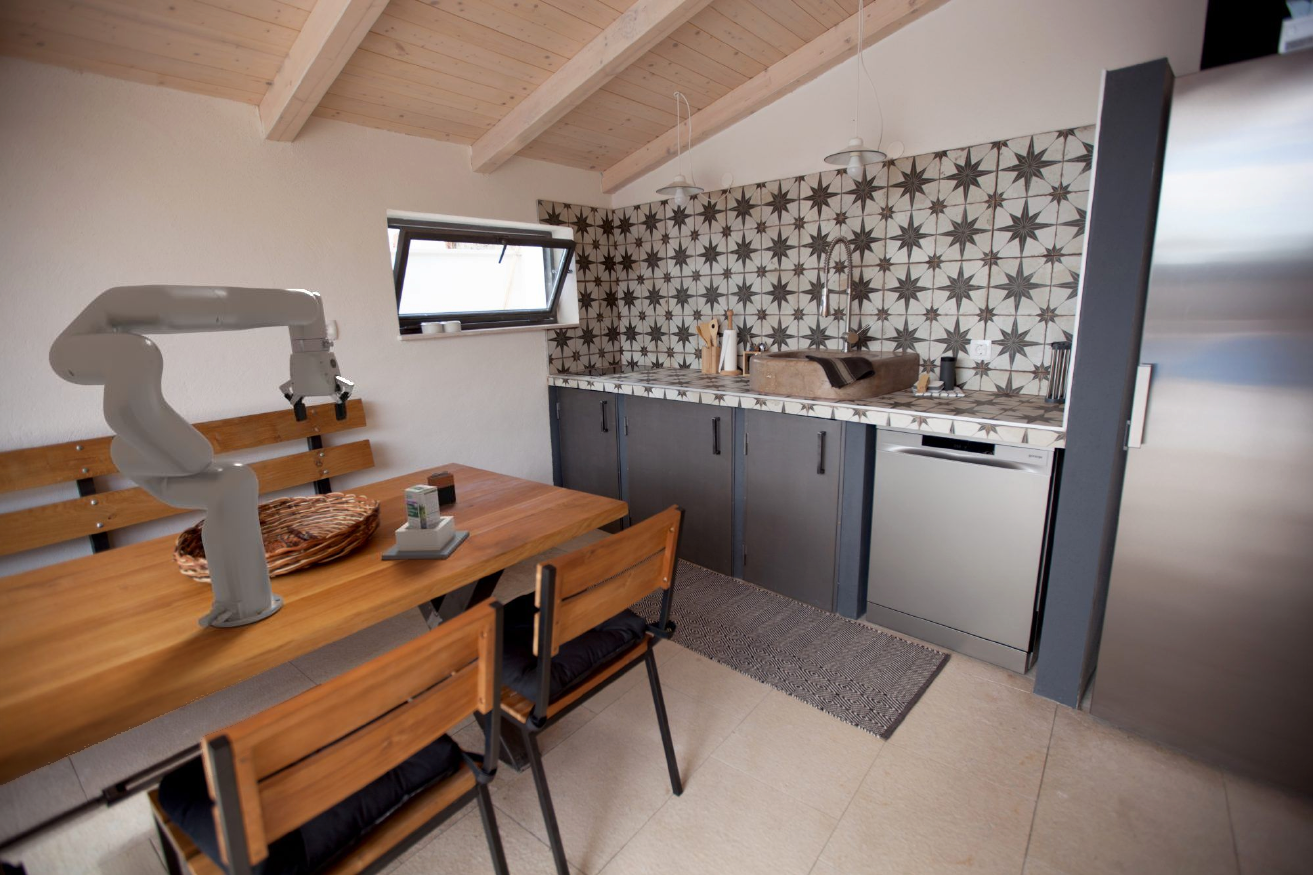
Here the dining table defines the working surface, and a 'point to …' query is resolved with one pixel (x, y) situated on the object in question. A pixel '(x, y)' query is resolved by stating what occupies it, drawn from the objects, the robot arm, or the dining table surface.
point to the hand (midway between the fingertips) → (321, 420)
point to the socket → (426, 541)
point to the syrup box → (422, 507)
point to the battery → (443, 487)
